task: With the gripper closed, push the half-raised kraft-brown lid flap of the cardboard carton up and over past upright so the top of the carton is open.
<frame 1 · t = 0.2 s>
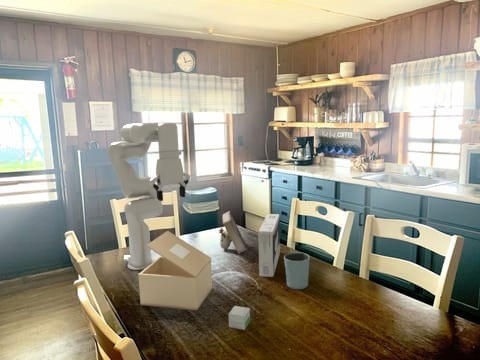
hand: (171, 198, 145), 37 cm above the table, tool pointing down, fingers open, 9 cm apart
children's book: (233, 249, 193), on the table
carton: (178, 296, 142), on the table
lid flap: (180, 252, 139), point 18 cm above the table, hinge at 30.0°
small box: (239, 325, 121), on the table
packaging: (270, 263, 172), on the table
blue gray cup: (296, 285, 149), on the table
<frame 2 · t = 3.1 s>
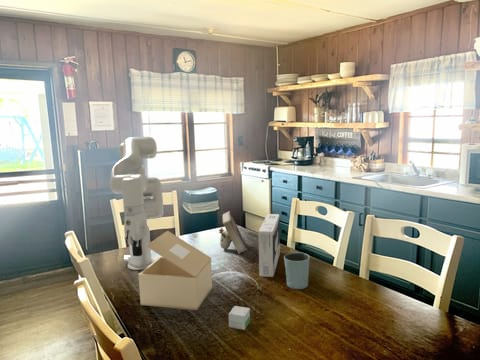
hand: (137, 255, 143), 16 cm above the table, tool pointing down, fingers closed
nothing on the table moved.
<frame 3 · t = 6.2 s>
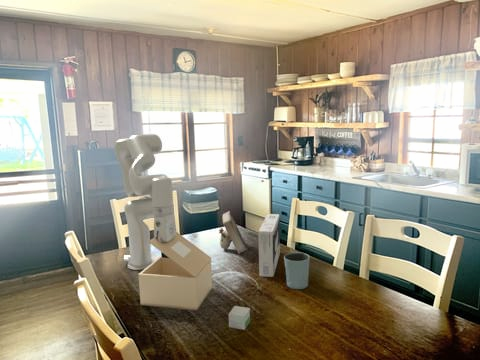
hand: (166, 257, 140), 16 cm above the table, tool pointing down, fingers closed
lid flap: (181, 250, 138), point 19 cm above the table, hinge at 35.4°
everything else where it was.
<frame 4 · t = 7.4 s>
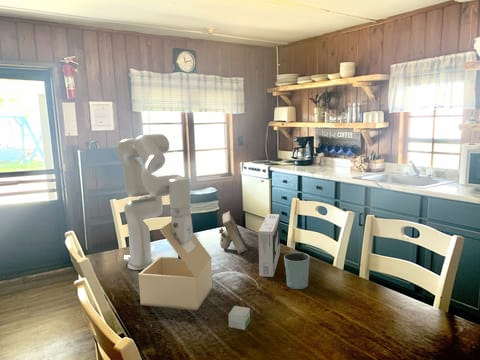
hand: (182, 258, 139), 15 cm above the table, tool pointing down, fingers closed
lid flap: (187, 244, 137), point 21 cm above the table, hinge at 53.4°, touching gripper
everything else where it was.
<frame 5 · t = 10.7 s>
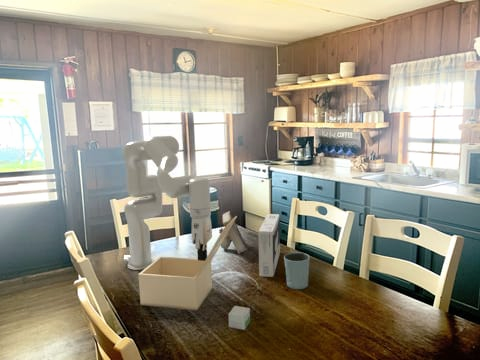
hand: (202, 259, 137), 15 cm above the table, tool pointing down, fingers closed
lid flap: (217, 245, 135), point 21 cm above the table, hinge at 121.0°
everything else where it was.
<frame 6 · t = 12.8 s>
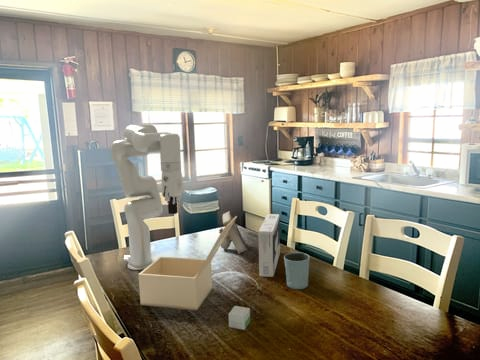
hand: (173, 213, 142), 32 cm above the table, tool pointing down, fingers closed
nothing on the table moved.
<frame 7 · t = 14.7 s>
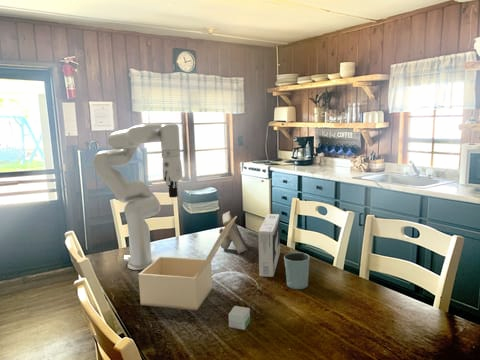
hand: (173, 196, 157), 35 cm above the table, tool pointing down, fingers closed
nothing on the table moved.
at the end: lid flap at +121° (first picture: +30°) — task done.
